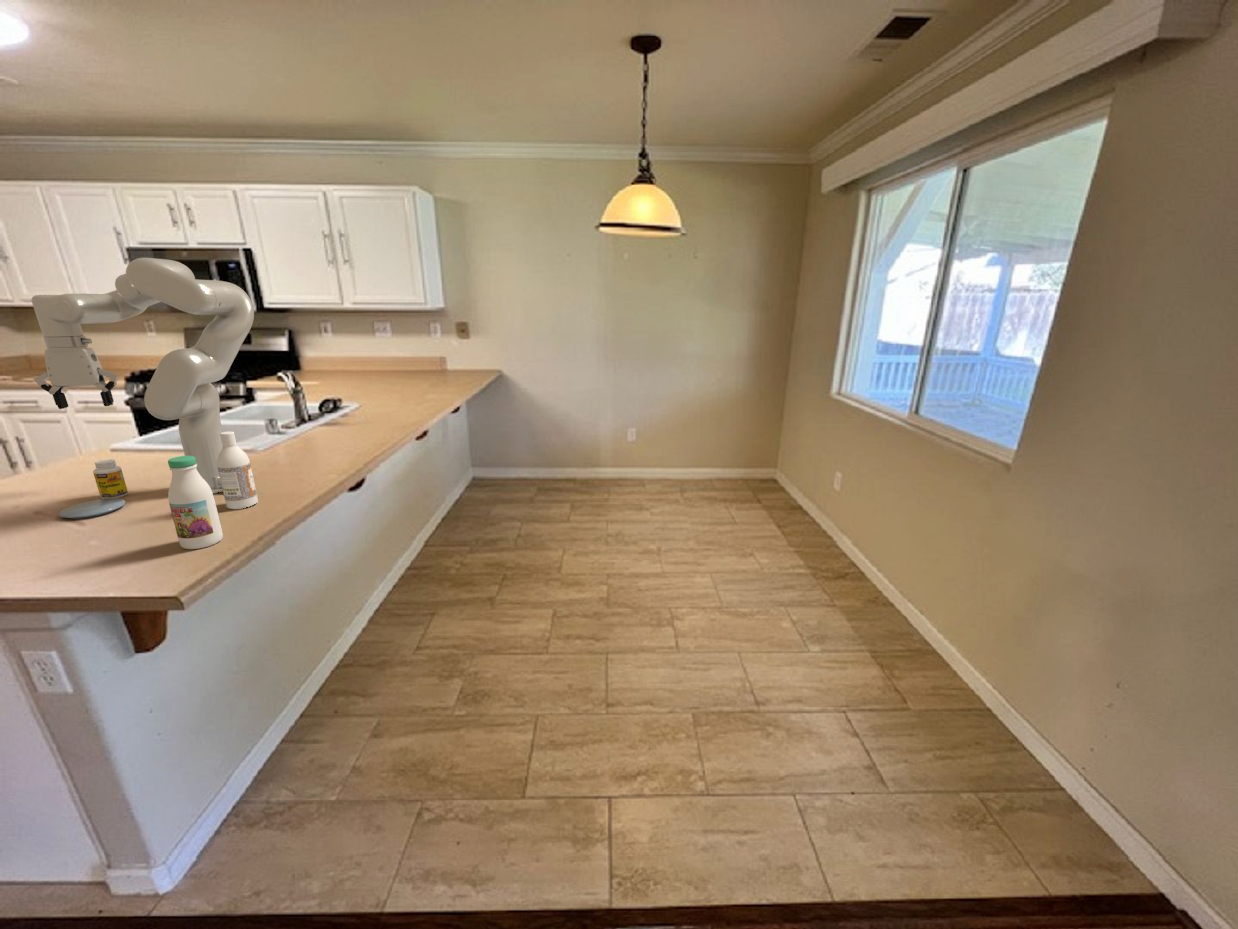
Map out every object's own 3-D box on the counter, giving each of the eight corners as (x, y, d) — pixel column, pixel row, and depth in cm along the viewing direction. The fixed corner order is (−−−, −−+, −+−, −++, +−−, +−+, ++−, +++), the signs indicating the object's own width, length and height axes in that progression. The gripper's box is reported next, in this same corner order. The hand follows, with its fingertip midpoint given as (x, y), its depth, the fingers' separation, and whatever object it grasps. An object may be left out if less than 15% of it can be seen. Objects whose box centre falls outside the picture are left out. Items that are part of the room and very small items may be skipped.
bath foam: (256, 507, 136) (240, 434, 130) (224, 511, 133) (206, 437, 127) (260, 499, 142) (245, 428, 136) (230, 502, 139) (213, 430, 133)
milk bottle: (196, 535, 120) (175, 453, 114) (231, 534, 120) (212, 452, 114) (171, 550, 112) (147, 463, 106) (209, 549, 113) (187, 463, 107)
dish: (137, 505, 137) (136, 501, 136) (82, 523, 125) (81, 518, 125) (105, 500, 139) (103, 496, 139) (48, 517, 128) (46, 512, 128)
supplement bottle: (98, 501, 139) (87, 465, 136) (103, 495, 143) (93, 460, 140) (126, 497, 142) (116, 462, 139) (130, 491, 146) (120, 457, 143)
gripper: (114, 341, 143) (132, 402, 148) (32, 343, 137) (54, 406, 142) (100, 343, 137) (119, 406, 142) (13, 345, 131) (36, 411, 136)
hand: (86, 406), depth 142 cm, fingers open, 9 cm apart
